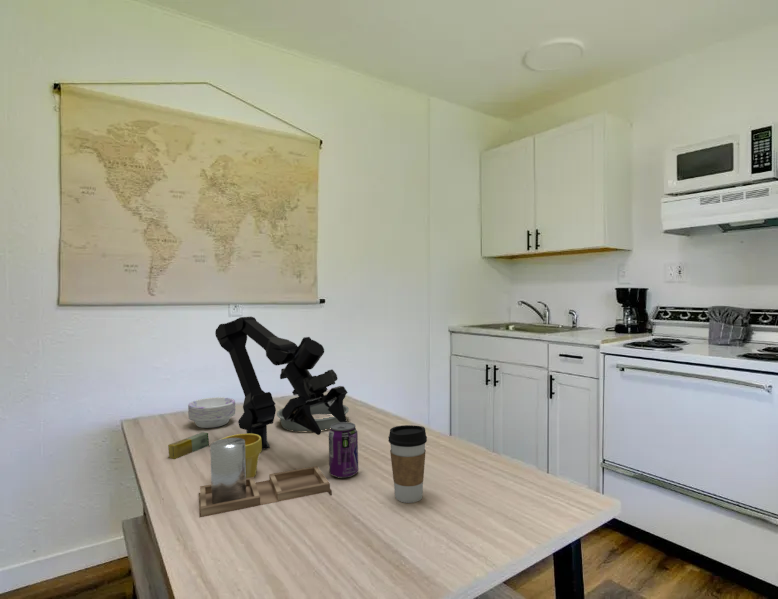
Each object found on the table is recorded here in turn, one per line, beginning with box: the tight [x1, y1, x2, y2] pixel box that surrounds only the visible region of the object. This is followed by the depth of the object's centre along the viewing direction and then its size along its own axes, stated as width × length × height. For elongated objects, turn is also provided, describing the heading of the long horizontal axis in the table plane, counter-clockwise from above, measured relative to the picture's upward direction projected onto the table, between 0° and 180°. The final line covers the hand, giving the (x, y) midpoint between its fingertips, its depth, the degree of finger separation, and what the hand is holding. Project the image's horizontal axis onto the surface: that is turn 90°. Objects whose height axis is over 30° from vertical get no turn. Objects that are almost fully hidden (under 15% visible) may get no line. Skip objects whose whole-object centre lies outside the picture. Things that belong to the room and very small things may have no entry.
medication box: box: [167, 431, 210, 460], centre depth 130 cm, size 12×3×4 cm, turn 154°
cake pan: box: [276, 403, 350, 432], centre depth 156 cm, size 25×25×4 cm
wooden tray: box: [198, 465, 333, 518], centre depth 100 cm, size 12×27×2 cm, turn 113°
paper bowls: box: [187, 396, 236, 429], centre depth 156 cm, size 15×15×8 cm
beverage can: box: [328, 421, 359, 479], centre depth 111 cm, size 7×7×12 cm
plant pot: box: [221, 433, 263, 478], centre depth 109 cm, size 10×10×10 cm
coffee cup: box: [388, 425, 428, 504], centre depth 98 cm, size 8×8×15 cm
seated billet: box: [209, 438, 246, 504], centre depth 97 cm, size 7×7×12 cm
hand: (333, 429), depth 113 cm, fingers open, 9 cm apart
